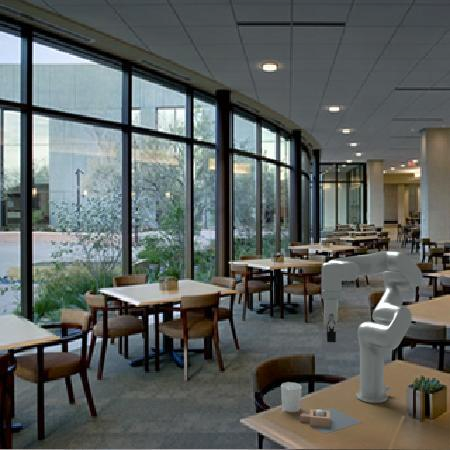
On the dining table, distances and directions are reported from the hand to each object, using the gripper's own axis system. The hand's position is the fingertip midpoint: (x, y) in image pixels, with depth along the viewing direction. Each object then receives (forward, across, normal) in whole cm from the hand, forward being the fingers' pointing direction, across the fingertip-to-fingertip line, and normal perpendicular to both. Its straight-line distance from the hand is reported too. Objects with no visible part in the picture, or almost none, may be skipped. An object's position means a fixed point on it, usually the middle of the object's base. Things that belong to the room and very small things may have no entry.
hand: (331, 338), depth 183 cm
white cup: (+28, +3, -15) cm, 32 cm away
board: (+28, +11, -1) cm, 30 cm away
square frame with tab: (+27, +13, -6) cm, 31 cm away
